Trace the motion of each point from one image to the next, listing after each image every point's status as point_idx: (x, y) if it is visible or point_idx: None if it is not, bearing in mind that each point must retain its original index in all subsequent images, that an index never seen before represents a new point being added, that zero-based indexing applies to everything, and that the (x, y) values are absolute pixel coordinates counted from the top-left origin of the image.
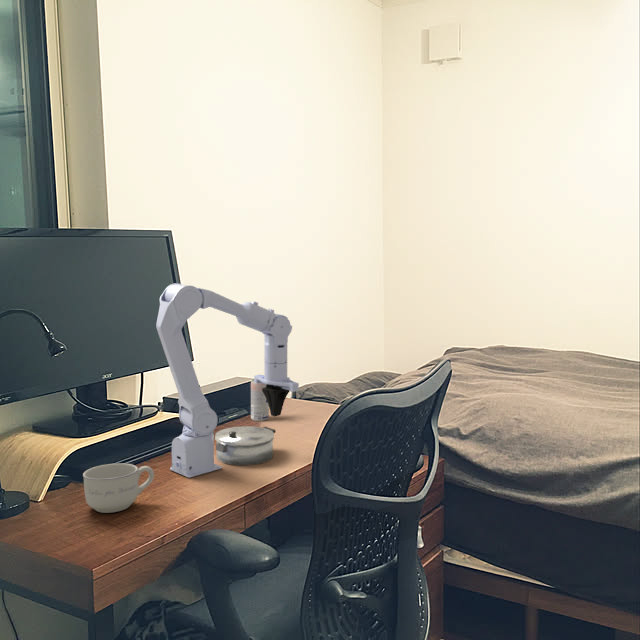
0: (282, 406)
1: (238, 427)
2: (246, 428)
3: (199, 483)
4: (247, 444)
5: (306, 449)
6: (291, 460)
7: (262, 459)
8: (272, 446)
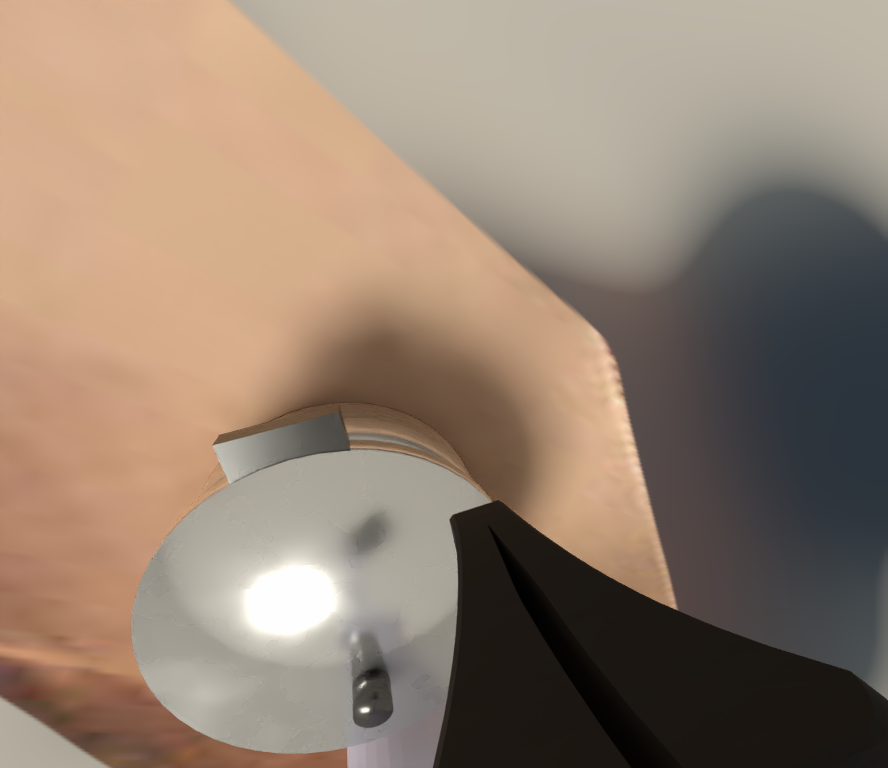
0: (554, 543)
1: (158, 622)
2: (211, 581)
3: None
4: None
5: (404, 190)
6: (516, 366)
7: None
8: (432, 444)
